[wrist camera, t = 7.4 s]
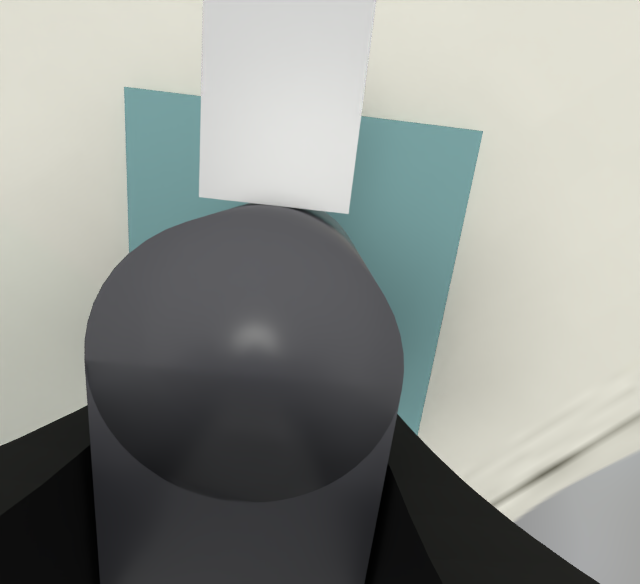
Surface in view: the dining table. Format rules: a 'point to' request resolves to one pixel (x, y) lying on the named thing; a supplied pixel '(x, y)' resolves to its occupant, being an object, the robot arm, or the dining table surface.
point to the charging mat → (360, 224)
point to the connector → (251, 330)
